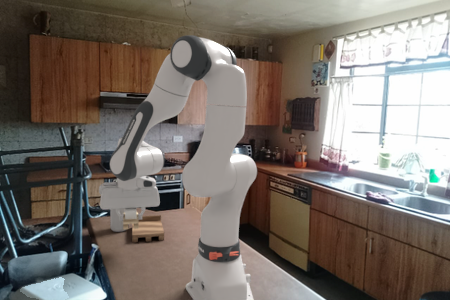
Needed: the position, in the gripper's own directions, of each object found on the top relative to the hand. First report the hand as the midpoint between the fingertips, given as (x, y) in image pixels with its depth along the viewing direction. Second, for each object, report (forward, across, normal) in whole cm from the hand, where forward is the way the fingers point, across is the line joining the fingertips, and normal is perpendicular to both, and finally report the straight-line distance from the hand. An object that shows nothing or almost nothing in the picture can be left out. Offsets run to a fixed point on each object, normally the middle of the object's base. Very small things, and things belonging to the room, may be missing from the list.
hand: (130, 219), depth 118 cm
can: (+11, -5, +23) cm, 26 cm away
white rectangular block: (-1, 0, 0) cm, 1 cm away
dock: (+11, +6, +16) cm, 20 cm away
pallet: (+2, 0, 0) cm, 2 cm away
